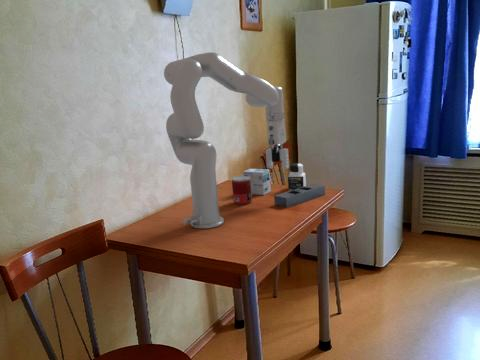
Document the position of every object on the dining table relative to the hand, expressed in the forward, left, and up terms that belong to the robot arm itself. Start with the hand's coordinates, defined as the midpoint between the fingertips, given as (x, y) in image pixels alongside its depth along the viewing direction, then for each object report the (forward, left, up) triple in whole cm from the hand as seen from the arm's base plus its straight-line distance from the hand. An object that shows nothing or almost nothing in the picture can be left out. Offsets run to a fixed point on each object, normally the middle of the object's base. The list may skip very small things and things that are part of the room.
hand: (277, 160), depth 185 cm
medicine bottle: (+17, +6, -18) cm, 25 cm away
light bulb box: (+2, +17, -18) cm, 25 cm away
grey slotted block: (+5, -7, -17) cm, 20 cm away
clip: (0, 0, -3) cm, 3 cm away
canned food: (-13, +10, -18) cm, 24 cm away
